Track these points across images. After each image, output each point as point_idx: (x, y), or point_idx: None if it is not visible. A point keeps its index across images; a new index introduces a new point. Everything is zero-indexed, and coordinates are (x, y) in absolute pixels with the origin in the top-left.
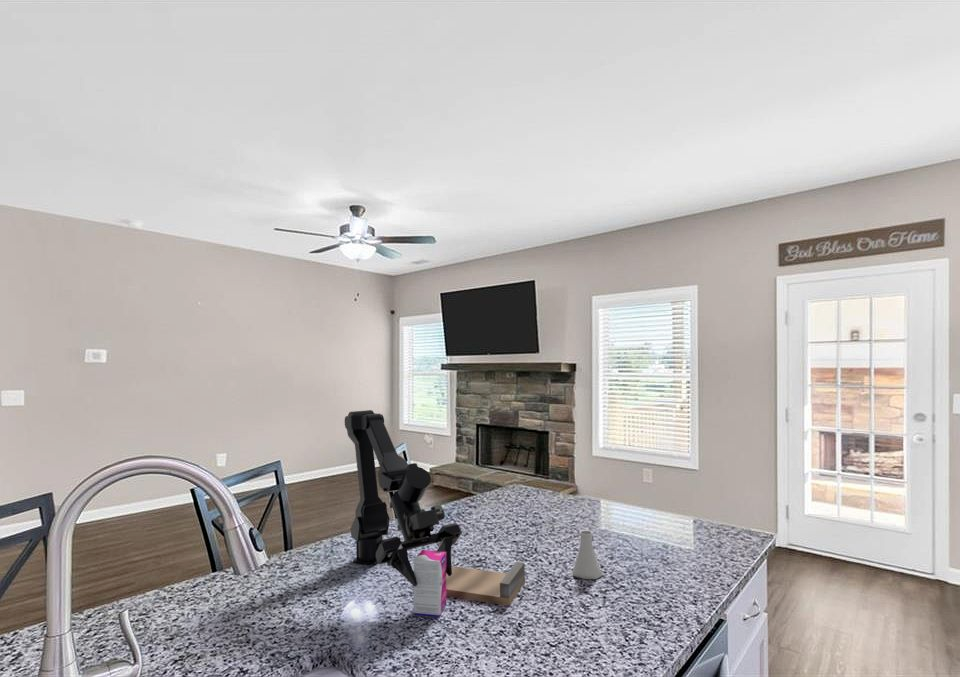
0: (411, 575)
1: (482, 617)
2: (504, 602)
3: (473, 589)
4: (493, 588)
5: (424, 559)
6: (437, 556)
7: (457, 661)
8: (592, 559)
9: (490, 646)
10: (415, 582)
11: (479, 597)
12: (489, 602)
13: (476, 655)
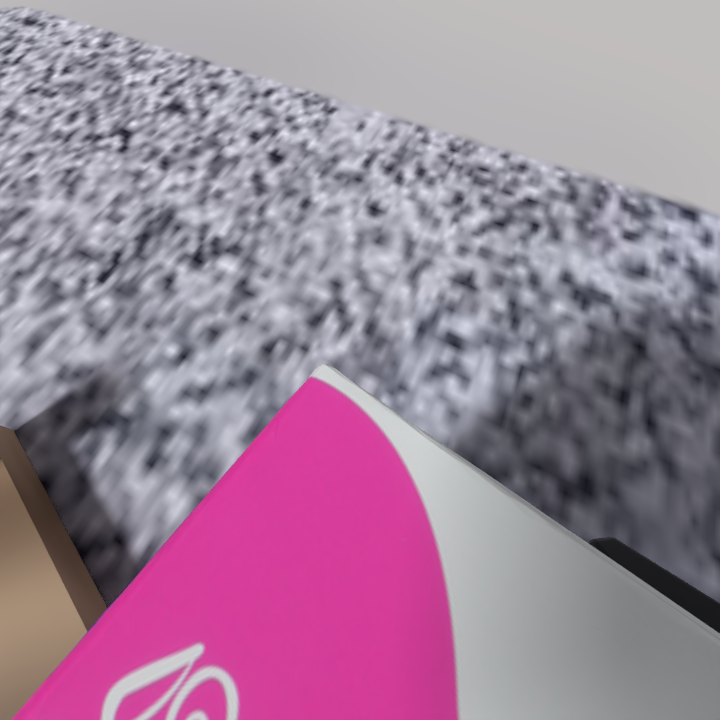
0: (708, 604)
1: (191, 391)
2: (12, 446)
3: (33, 670)
4: None
5: (560, 574)
6: (248, 591)
7: (443, 164)
8: None
9: (295, 194)
10: (617, 547)
11: (72, 568)
12: (58, 517)
13: (367, 169)
